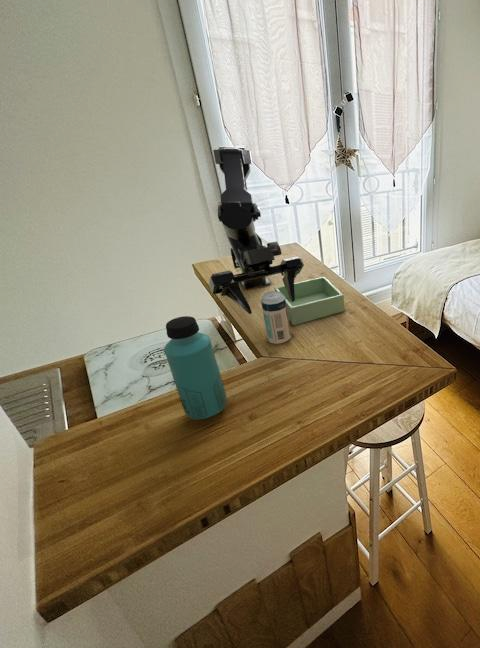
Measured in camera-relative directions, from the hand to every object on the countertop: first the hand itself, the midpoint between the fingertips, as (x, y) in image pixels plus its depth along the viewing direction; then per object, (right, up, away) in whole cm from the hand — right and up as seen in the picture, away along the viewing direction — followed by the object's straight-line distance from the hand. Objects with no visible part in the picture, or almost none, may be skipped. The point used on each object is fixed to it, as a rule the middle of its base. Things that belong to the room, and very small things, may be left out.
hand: (272, 307), depth 91 cm
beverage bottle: (-1, -18, -18) cm, 26 cm away
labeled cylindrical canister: (0, -8, +3) cm, 9 cm away
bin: (0, -1, +17) cm, 17 cm away
